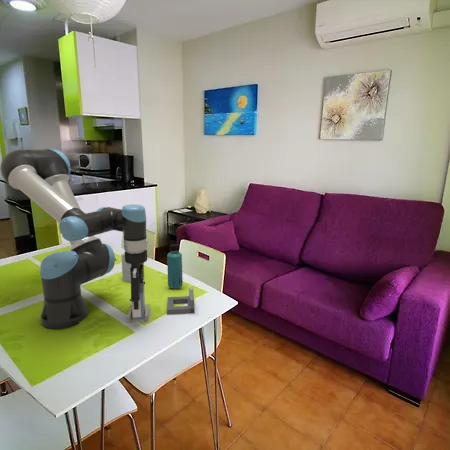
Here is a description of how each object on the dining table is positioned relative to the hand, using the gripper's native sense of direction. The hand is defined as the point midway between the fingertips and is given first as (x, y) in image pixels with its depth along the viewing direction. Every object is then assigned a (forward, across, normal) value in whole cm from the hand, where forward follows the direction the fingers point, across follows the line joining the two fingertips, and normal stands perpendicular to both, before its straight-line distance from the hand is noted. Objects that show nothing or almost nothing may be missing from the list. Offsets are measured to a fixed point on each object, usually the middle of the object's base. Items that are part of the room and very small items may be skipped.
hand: (138, 308), depth 115 cm
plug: (+3, 0, 0) cm, 3 cm away
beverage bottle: (+4, +23, -13) cm, 27 cm away
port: (+4, +5, -15) cm, 16 cm away
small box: (+4, +35, +6) cm, 36 cm away
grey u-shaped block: (+4, 0, 0) cm, 4 cm away
